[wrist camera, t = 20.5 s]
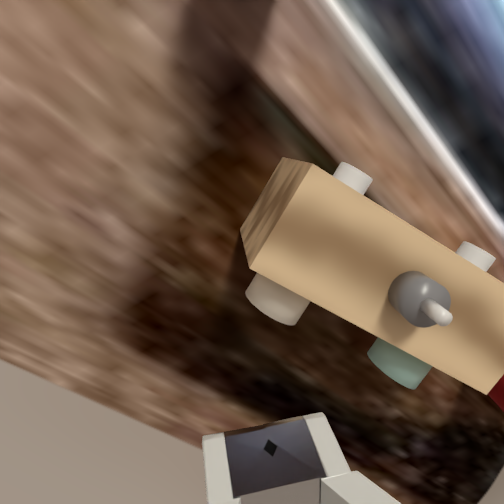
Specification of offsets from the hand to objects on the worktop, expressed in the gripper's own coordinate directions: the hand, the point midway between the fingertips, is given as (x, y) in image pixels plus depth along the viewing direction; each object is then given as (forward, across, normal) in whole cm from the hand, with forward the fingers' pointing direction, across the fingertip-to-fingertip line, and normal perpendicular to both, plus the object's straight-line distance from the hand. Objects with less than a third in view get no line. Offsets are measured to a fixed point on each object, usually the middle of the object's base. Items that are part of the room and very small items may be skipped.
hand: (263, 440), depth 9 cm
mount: (+27, -15, +8) cm, 32 cm away
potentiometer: (+15, -14, +7) cm, 21 cm away
